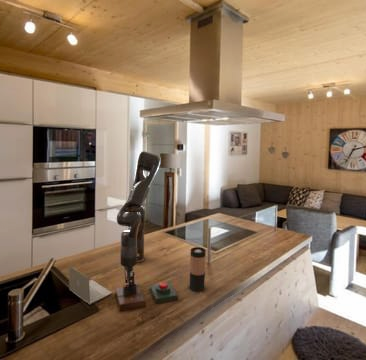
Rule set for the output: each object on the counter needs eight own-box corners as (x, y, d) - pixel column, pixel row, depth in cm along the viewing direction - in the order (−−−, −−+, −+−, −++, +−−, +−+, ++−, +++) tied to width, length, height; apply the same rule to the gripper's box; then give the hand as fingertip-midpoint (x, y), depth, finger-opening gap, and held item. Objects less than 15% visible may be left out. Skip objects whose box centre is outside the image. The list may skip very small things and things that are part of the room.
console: (116, 293, 135) (115, 287, 134) (138, 290, 138) (138, 284, 138) (119, 311, 121) (119, 304, 121) (144, 306, 125) (144, 300, 124)
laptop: (112, 294, 134) (112, 268, 132) (89, 305, 125) (88, 278, 123) (91, 280, 146) (91, 257, 144) (69, 290, 137) (68, 265, 135)
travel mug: (186, 285, 143) (187, 248, 141) (200, 282, 146) (201, 246, 143) (193, 293, 137) (194, 254, 134) (207, 290, 140) (208, 251, 137)
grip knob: (135, 291, 132) (135, 281, 131) (136, 293, 130) (136, 283, 129) (123, 294, 128) (122, 285, 128) (124, 296, 127) (124, 286, 126)
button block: (150, 289, 139) (150, 282, 138) (169, 286, 142) (169, 279, 141) (156, 303, 128) (156, 295, 127) (177, 299, 131) (177, 291, 130)
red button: (158, 286, 135) (158, 282, 135) (165, 285, 137) (165, 281, 136) (160, 290, 132) (160, 286, 132) (167, 288, 133) (168, 285, 133)
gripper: (140, 259, 121) (140, 294, 123) (134, 246, 134) (134, 278, 137) (122, 261, 119) (122, 296, 121) (118, 248, 132) (118, 280, 134)
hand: (129, 287), depth 129 cm, fingers open, 8 cm apart
